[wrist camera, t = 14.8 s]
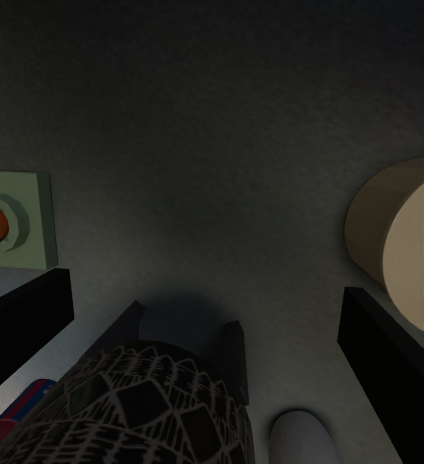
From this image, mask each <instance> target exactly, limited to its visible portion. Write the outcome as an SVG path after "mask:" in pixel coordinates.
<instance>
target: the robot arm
mask: <svg viewBox="0 0 424 464" xmlns="http://www.w3.org/2000/svg"><path fill="white" fill-rule="evenodd" d="M74 319H75V318H74V309H73V300H72V290H71V281H70V271H69V269H61V268H54V269H52V270H50V271H48V272H47V273H45V274H43V275H41V276H39V277H37V278H35V279H33V280H31V281H30V282H28V283H26V284H24V285H22V286H20V287H18V288H16V289H15V290H13V291H11V292H9V293H7V294H5V295H3V296H1V297H0V385H1V384H2V383H3V382H4V381H6V380H7V379H8V378H9V377H10V376H11V375H12V374H13V373H15V372H16V371H17V370H18V369H19V368H20V367H21V366H22V365H23V364H25V363H26V362H27V361H28V360H29V359H30V358H31V357H32V356H34V355H35V354H36V353H37V352H38V351H39V350H40V349H41V348H42V347H44V346H45V345H46V344H47V343H48V342H49V341H50V340H51V339H53V338H54V337H55V336H56V335H57V334H58V333H59V332H60V331H62V330H63V329H64V328H65V327H66V326H67V325H68V324H69V323H70V322H72V321H73V320H74ZM337 342H338V344H339V345H340V347H341V349H342V351H343V353H344V355H345V356H346V358H347V360H348V362H349V364H350V366H351V368H352V369H353V371H354V373H355V375H356V377H357V379H358V381H359V382H360V384H361V386H362V388H363V390H364V392H365V394H366V395H367V397H368V399H369V401H370V403H371V405H372V407H373V408H374V410H375V412H376V414H377V416H378V418H379V419H380V421H381V423H382V425H383V427H384V429H385V431H386V432H387V434H388V436H389V438H390V440H391V442H392V444H393V445H394V447H395V449H396V451H397V453H398V455H399V457H400V458H401V460H402V462H403V464H424V349H423V348H422V347H421V346H420V345H419V344H418V343H417V342H416V341H415V340H414V339H413V338H412V337H411V336H410V335H409V334H408V333H407V332H406V331H405V330H404V329H403V328H402V327H401V326H400V325H399V324H398V323H397V322H396V321H395V320H394V319H393V318H392V317H391V316H390V315H389V314H388V313H387V312H386V311H385V310H384V308H383V307H382V306H381V305H380V304H379V303H378V302H377V301H376V300H375V299H374V298H373V297H372V296H371V295H370V294H369V293H368V292H367V291H366V290H365V289H364V288H357V287H345V290H344V297H343V304H342V311H341V318H340V325H339V332H338V339H337Z"/></svg>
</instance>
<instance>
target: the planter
mask: <svg viewBox="0 0 424 464" xmlns="http://www.w3.org/2000/svg"><path fill="white" fill-rule="evenodd" d="M144 310H145V307H144V306H143V305H142V304H140V303H139V302H138V301H136V300H135V301H134V302H133V303H132V304H131V305H130V306H129V307H128V308H127V309H126V310H125V311H124V312H123V313H122V315H121V316H120V317H119V318H118V319H117V320H116V321H115V322H114V323H113V324H112V325H111V326H110V327H109V328H108V329H107V330H106V331H105V332H104V333H103V334H102V335H101V336H100V337H99V338H98V340H97V341H96V342H95V343H94V344H93V345H92V346H91V347H90V348H89V349H88V350H87V351H86V352H85V353H84V354H83V355H82V357H81V358H80V359H79V361H78V362H77V363H76V364H75V365H74V366H73V367H72V368H70V369H69V370H68V371H67V372H66V373H65V374H64V375H63V377H62V378H61V379H60V380H59V381H58V382H57V383H56V384H55V385H54V386H53V387H52V388H51V389H50V390H49V391H48V392H47V393H46V394H45V395H44V396H43V397H42V398H41V399H40V401H39V402H38V403H37V404H36V405H35V406H34V407H33V408H32V409H31V410H30V411H29V412H28V413H27V414H26V415H25V416H24V417H23V418H22V419H21V420H20V421H19V422H18V424H17V425H16V426H15V427H14V428H13V429H12V430H11V431H10V432H9V433H8V434H7V435H6V436H5V437H4V438H3V439H2V440H1V441H0V464H255V456H254V444H253V435H252V428H251V423H250V420H249V417H248V414H247V411H246V408H245V406H247V405H249V397H248V384H247V371H246V357H245V344H244V332H243V330H242V327H241V325H240V322H239V320H237V321H234V322H230V323H227V324H226V327H225V330H224V333H223V336H222V338H221V340H220V342H219V344H218V345H217V347H216V349H215V350H214V351H213V352H212V354H211V355H210V356H209V357H208V358H207V359H206V360H205V359H203V358H201V357H200V356H198V355H196V354H194V353H192V352H190V351H188V350H186V349H183V348H181V347H178V346H175V345H172V344H168V343H164V342H159V341H150V340H139V324H140V320H141V317H142V315H143V313H144Z"/></svg>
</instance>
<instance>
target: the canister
mask: <svg viewBox="0 0 424 464" xmlns="http://www.w3.org/2000/svg"><path fill="white" fill-rule="evenodd" d="M423 179H424V157H417V158H413V159H410V160H406V161H403V162H399V163H396V164H394V165H391V166H389V167H387V168H385V169H384V170H382V171H380V172H379V173H377V174H376V175H374V176H373V177H372V178H371V179H370V180H368V181H367V182H366V183H365V184H364V185H363V187H362V188H361V189H360V190H359V191H358V193H357V194H356V196H355V197H354V199H353V201H352V203H351V204H350V207H349V209H348V212H347V215H346V220H345V227H344V235H345V242H346V247H347V249H348V252H349V254H350V256H351V259H352V260H353V261H354V263H355V264H356V265H357V267H358V268H359V269H360V270H361V271H362V272H363V273H364V274H365V275H366V276H367V277H368V278H369V279H370V280H371V281H372V282H373V283H375V284H376V285H377V286H378V287H379V288H380V289H381V290H382V291H384V292H385V293H386V291H385V288H384V285H383V282H382V279H381V273H380V260H379V257H380V248H381V243H382V239H383V235H384V232H385V230H386V227H387V225H388V222H389V220H390V218H391V217H392V215H393V213H394V211H395V210H396V208H397V207H398V205H399V204H400V203H401V201H402V200H403V199H404V197H405V196H406V195H407V194H408V193H409V192H410V191H411V190H412V189H413V188H414V187H415V186H416V185H417V184H418V183H420V182H421V181H422V180H423ZM386 294H387V293H386Z"/></svg>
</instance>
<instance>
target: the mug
mask: <svg viewBox="0 0 424 464" xmlns="http://www.w3.org/2000/svg"><path fill="white" fill-rule="evenodd" d="M269 464H343V463H342V460H341V458H340V456H339V453H338V451H337V449H336V447H335V445H334V443H333V441H332V439H331V437H330V436H329V434H328V433H327V431H326V429H325V428H324V427H323V425H322V424H321V423H320V422H319V421H318V420H317V419H316V417H314V416H313V415H311V414H309V413H307V412H303V411H293V412H288V413H286V414H284V415H282V416H281V417H279V418H278V419H277V420H276V422H275V424H274V426H273V428H272V432H271V436H270V445H269Z"/></svg>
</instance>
